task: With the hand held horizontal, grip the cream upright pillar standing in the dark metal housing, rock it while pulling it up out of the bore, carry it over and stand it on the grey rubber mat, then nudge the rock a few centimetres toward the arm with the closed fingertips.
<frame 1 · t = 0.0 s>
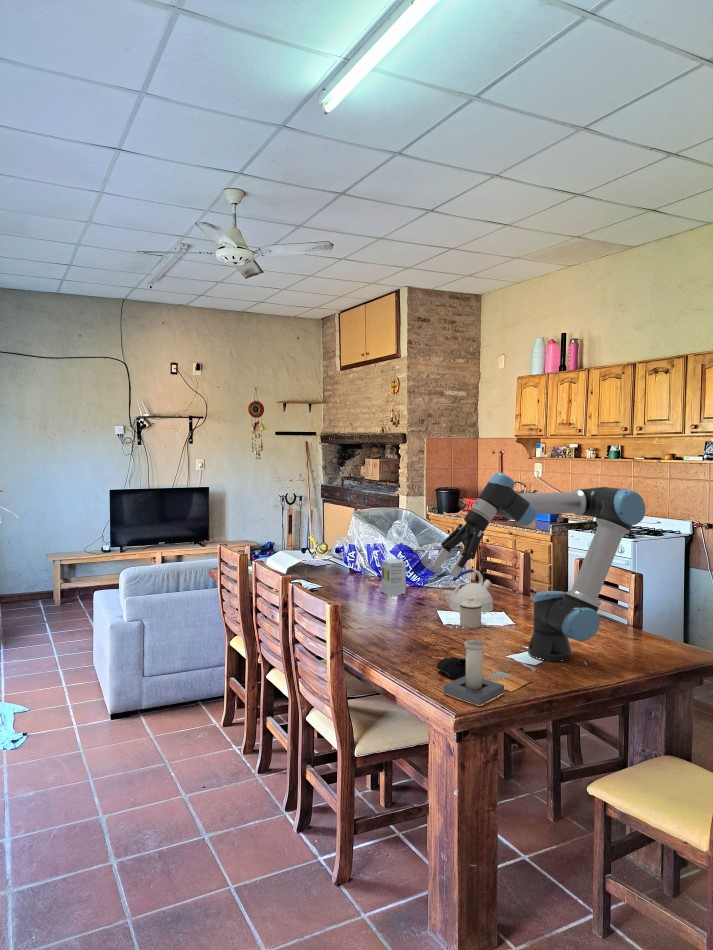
hand: (443, 570, 205), 36 cm above the table, tool tilted 35°, fingers open, 13 cm apart
supplement box: (393, 594, 324), on the table
mat: (505, 682, 207), on the table
housing: (473, 694, 196), on the table
teacup with lid: (469, 624, 271), on the table
kettle: (471, 608, 298), on the table
cream upright pillar: (473, 695, 196), resting in housing
rock: (453, 675, 214), on the table
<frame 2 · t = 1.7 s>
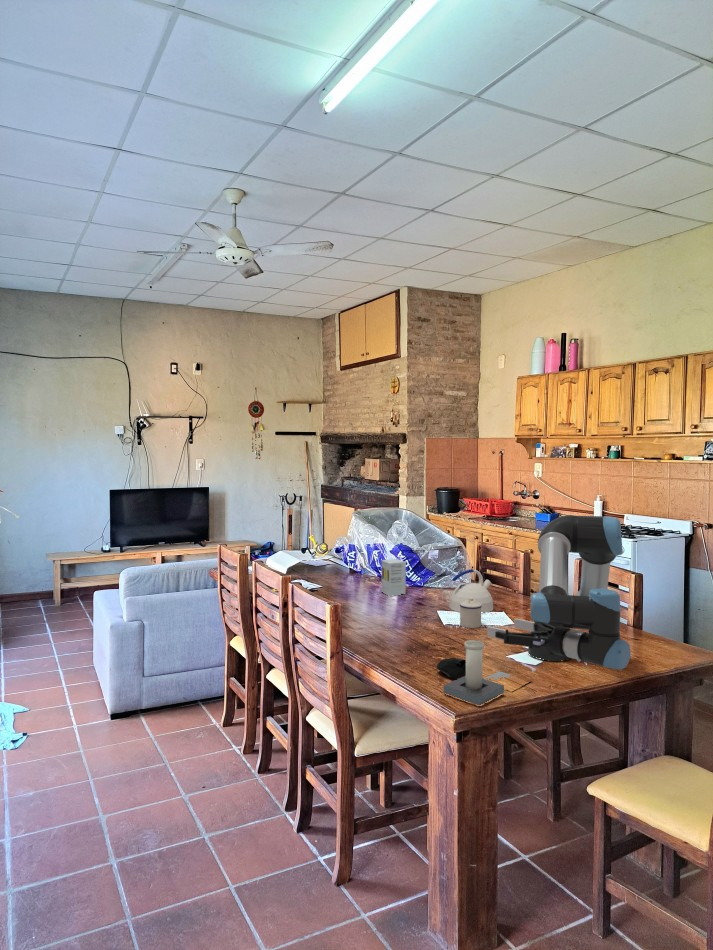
hand: (501, 626, 188), 23 cm above the table, tool horizontal, fingers open, 13 cm apart
nothing on the table moved.
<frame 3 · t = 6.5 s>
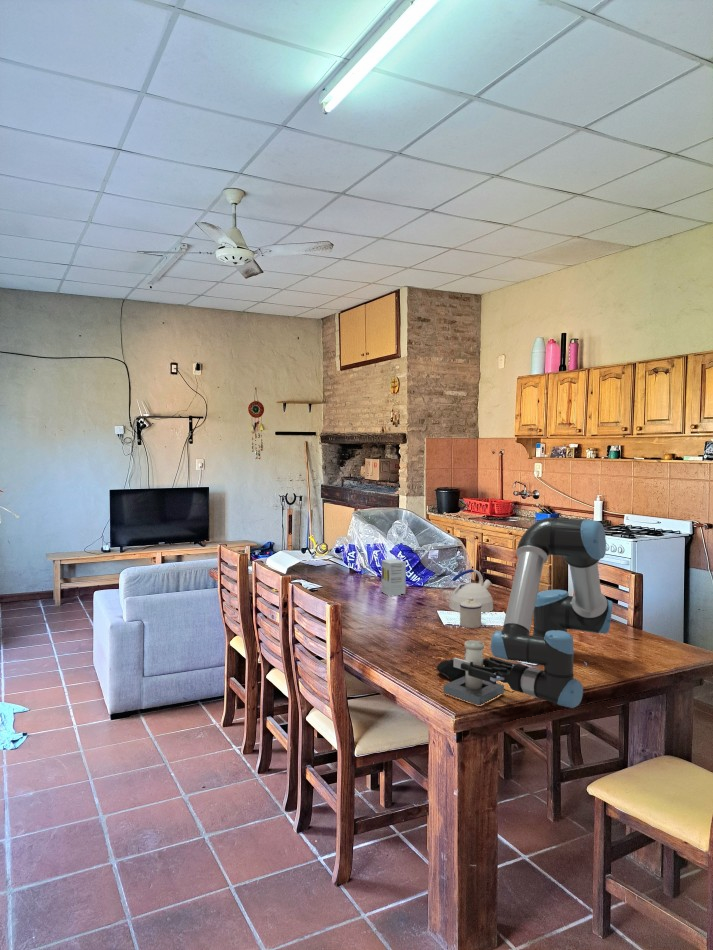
hand: (459, 660, 199), 10 cm above the table, tool horizontal, fingers closed on cream upright pillar, 5 cm apart
cream upright pillar: (473, 694, 196), resting in housing, touching gripper
rock: (453, 677, 212), on the table
everything else where it was.
when the fingers open (11 cm above the table, at t = 12.4 s): cream upright pillar drops 1 cm, resting on mat.
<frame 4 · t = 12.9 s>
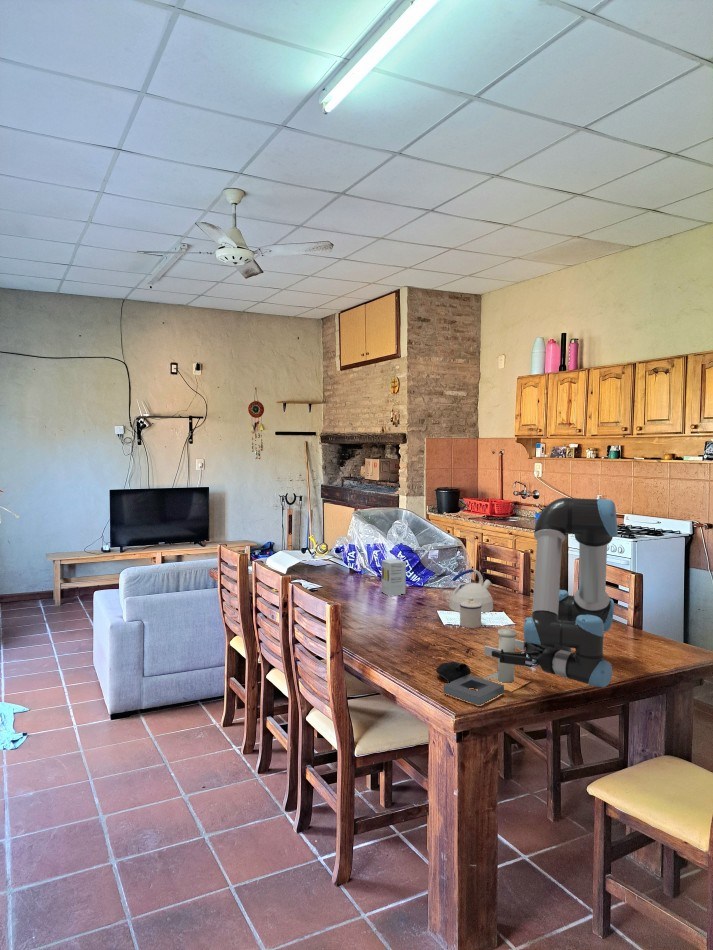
hand: (495, 645, 209), 11 cm above the table, tool horizontal, fingers open, 12 cm apart
cream upright pillar: (505, 680, 207), resting on mat
rock: (453, 680, 209), on the table
everything else where it was.
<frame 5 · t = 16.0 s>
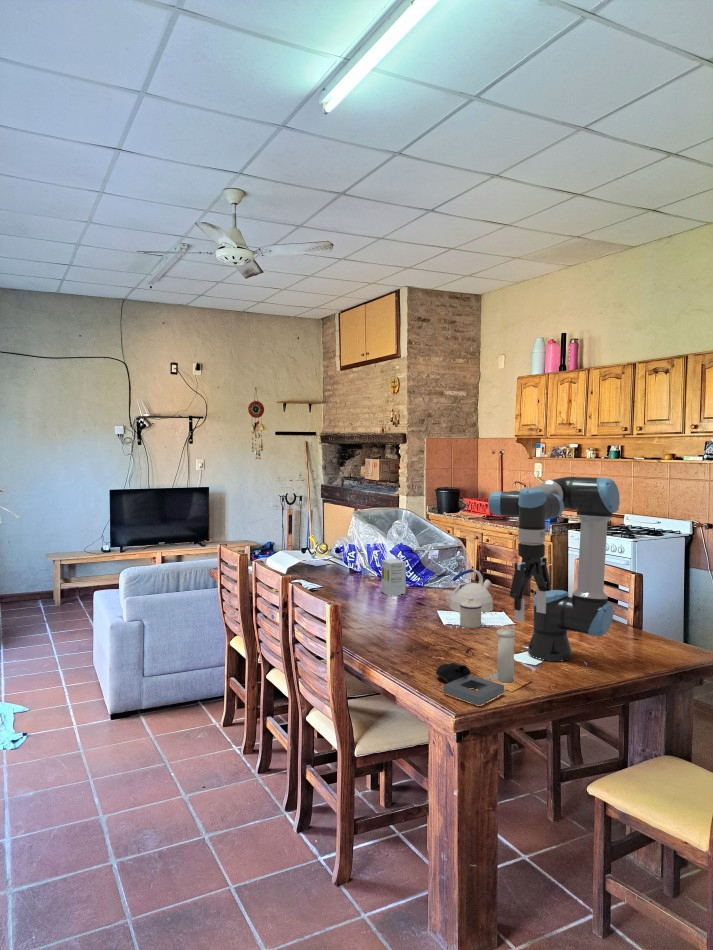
hand: (530, 616, 188), 26 cm above the table, tool pointing down, fingers open, 12 cm apart
rock: (452, 681, 208), on the table
everything else where it was.
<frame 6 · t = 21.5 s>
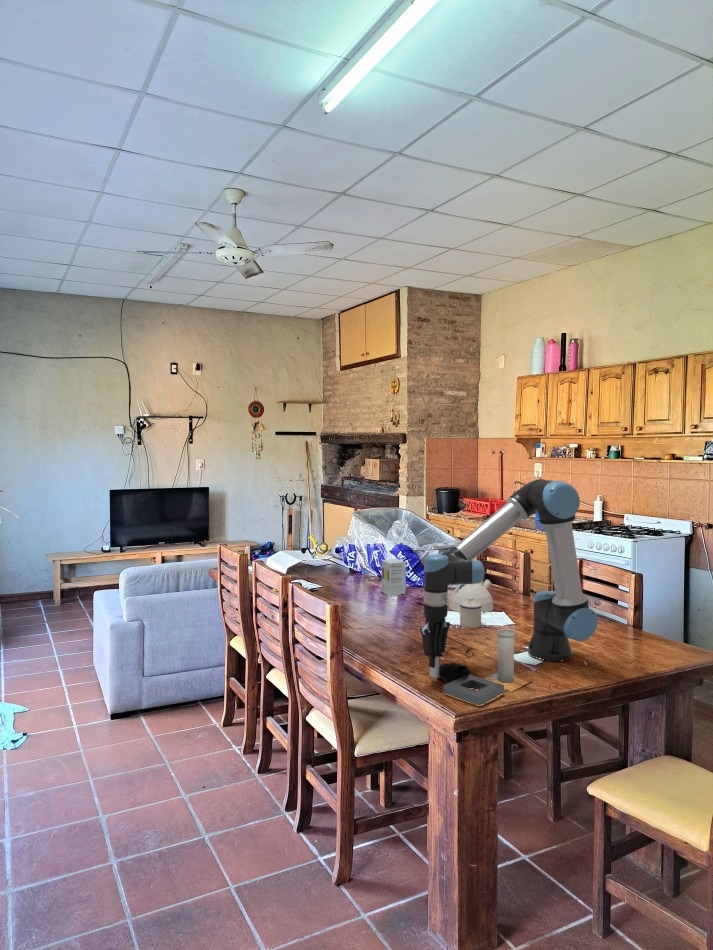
hand: (434, 676, 207), 2 cm above the table, tool pointing down, fingers closed
rock: (452, 681, 208), on the table, touching gripper, housing
everything else where it was.
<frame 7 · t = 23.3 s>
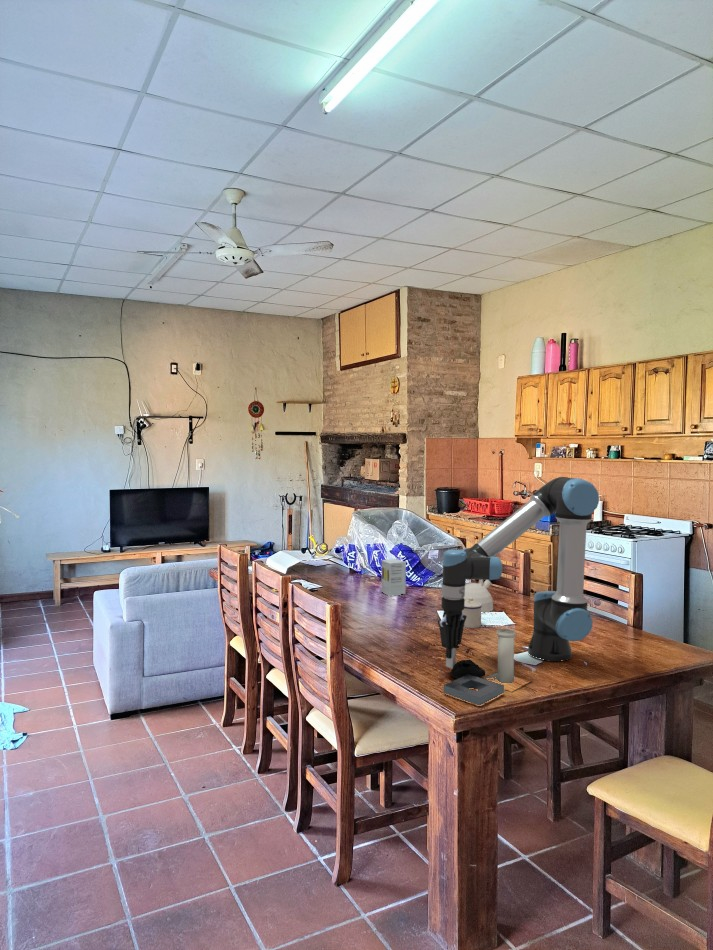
hand: (450, 666, 214), 2 cm above the table, tool pointing down, fingers closed
rock: (466, 677, 211), on the table, touching gripper, mat
everything else where it was.
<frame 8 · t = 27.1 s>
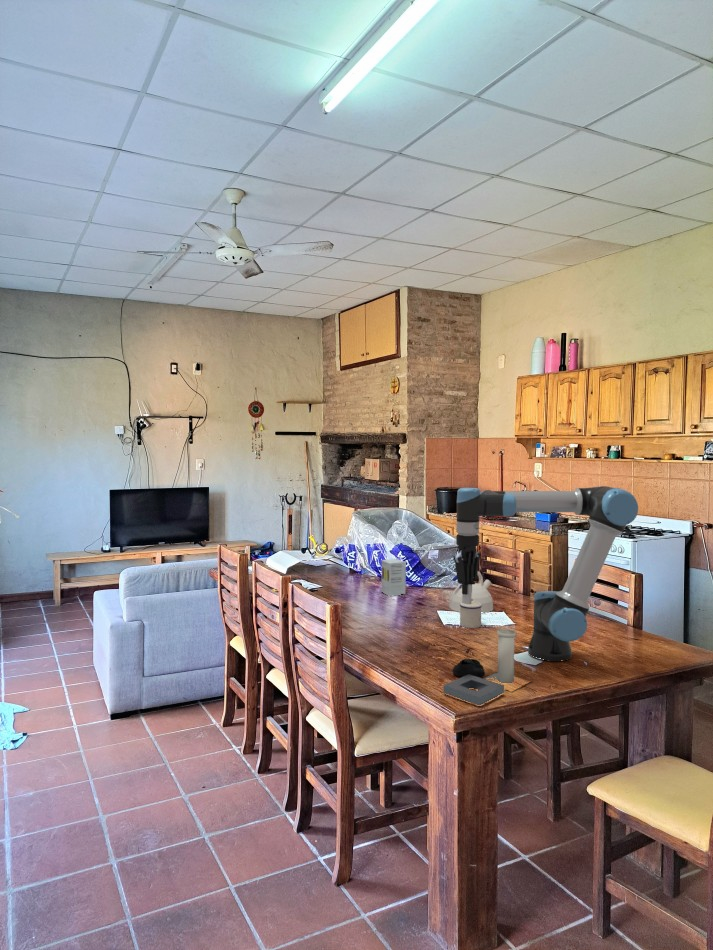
hand: (466, 603, 218), 22 cm above the table, tool pointing down, fingers closed
rock: (468, 676, 213), on the table, touching mat
everything else where it was.
at the end: cream upright pillar inside the target area on the mat (0.1 cm from its centre), point 0.4 cm above the mat's base; cream upright pillar tilted 0°; rock moved 5.0 cm from its start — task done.
